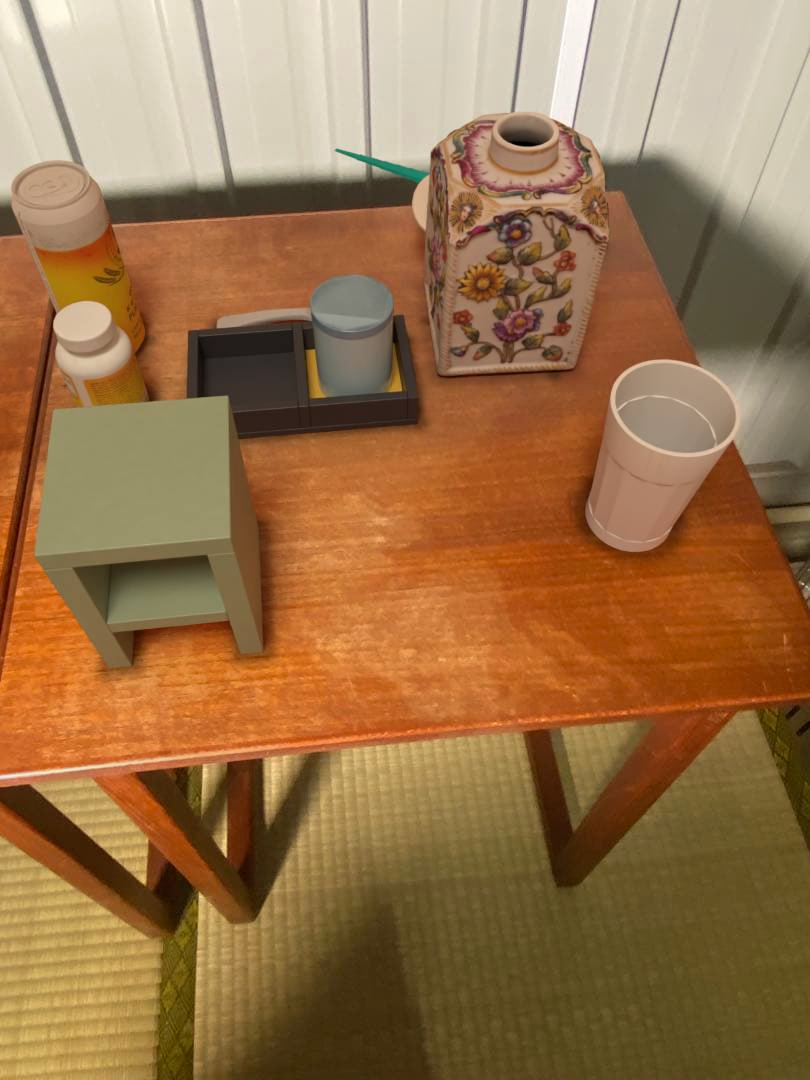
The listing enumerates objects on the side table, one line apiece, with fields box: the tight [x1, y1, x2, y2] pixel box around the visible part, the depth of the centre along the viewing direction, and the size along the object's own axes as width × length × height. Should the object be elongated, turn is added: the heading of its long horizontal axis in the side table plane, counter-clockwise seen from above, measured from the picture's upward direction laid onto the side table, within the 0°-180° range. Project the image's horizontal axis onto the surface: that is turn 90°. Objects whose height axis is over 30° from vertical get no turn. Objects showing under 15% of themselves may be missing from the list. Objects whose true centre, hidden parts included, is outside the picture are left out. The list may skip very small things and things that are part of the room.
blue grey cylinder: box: [309, 273, 395, 397], centre depth 65 cm, size 6×6×8 cm
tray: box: [186, 314, 419, 440], centre depth 67 cm, size 17×9×3 cm, turn 97°
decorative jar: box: [423, 111, 611, 377], centre depth 65 cm, size 12×12×18 cm
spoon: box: [216, 307, 312, 328], centre depth 72 cm, size 3×12×2 cm, turn 96°
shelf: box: [33, 396, 264, 670], centre depth 52 cm, size 10×10×14 cm
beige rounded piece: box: [411, 174, 430, 233], centre depth 75 cm, size 5×5×10 cm
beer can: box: [10, 159, 146, 354], centre depth 64 cm, size 6×6×15 cm
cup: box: [584, 358, 741, 553], centre depth 57 cm, size 8×8×12 cm
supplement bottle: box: [52, 301, 151, 408], centre depth 63 cm, size 5×5×10 cm
